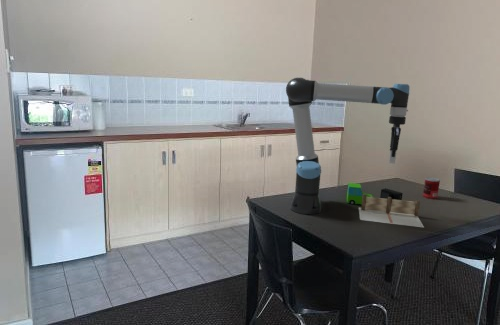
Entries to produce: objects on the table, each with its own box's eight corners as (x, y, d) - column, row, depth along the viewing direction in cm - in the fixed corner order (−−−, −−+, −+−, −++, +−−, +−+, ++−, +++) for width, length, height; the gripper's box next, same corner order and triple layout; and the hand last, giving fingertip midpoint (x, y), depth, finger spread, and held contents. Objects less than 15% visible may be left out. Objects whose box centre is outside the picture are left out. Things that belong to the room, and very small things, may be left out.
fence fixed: (361, 210, 196) (362, 194, 194) (360, 209, 198) (362, 193, 196) (389, 213, 193) (391, 198, 191) (389, 212, 195) (391, 197, 193)
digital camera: (378, 201, 214) (379, 189, 213) (383, 200, 217) (385, 188, 216) (395, 206, 206) (397, 194, 205) (400, 205, 210) (402, 192, 208)
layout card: (360, 220, 182) (360, 219, 182) (358, 208, 200) (358, 207, 200) (424, 228, 176) (424, 227, 176) (416, 215, 195) (416, 213, 194)
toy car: (373, 208, 202) (375, 189, 200) (347, 205, 205) (349, 187, 203) (371, 202, 212) (373, 184, 210) (346, 199, 214) (348, 182, 212)
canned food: (438, 196, 229) (440, 178, 227) (436, 200, 222) (439, 181, 220) (423, 194, 233) (426, 176, 230) (421, 197, 226) (424, 179, 224)
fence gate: (390, 212, 193) (392, 198, 191) (390, 211, 195) (392, 197, 193) (418, 216, 190) (420, 201, 189) (417, 214, 192) (419, 200, 190)
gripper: (408, 117, 184) (401, 166, 189) (403, 115, 197) (397, 160, 202) (391, 116, 186) (385, 164, 191) (388, 114, 199) (382, 159, 204)
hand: (391, 162), depth 197 cm, fingers closed
